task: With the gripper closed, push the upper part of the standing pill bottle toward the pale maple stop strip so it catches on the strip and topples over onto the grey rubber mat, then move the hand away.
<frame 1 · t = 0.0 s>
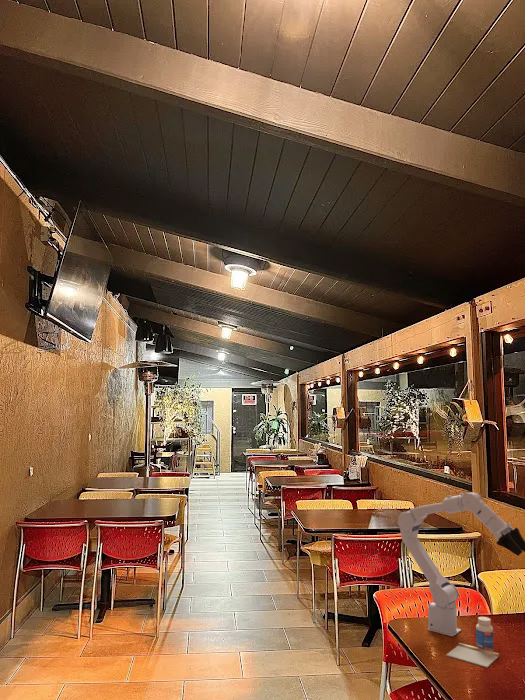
hand: (523, 551, 189), 32 cm above the table, tool tilted 50°, fingers open, 7 cm apart
pill bottle: (485, 649, 188), on the table
stop strip: (478, 651, 186), on the table
mat: (472, 656, 182), on the table
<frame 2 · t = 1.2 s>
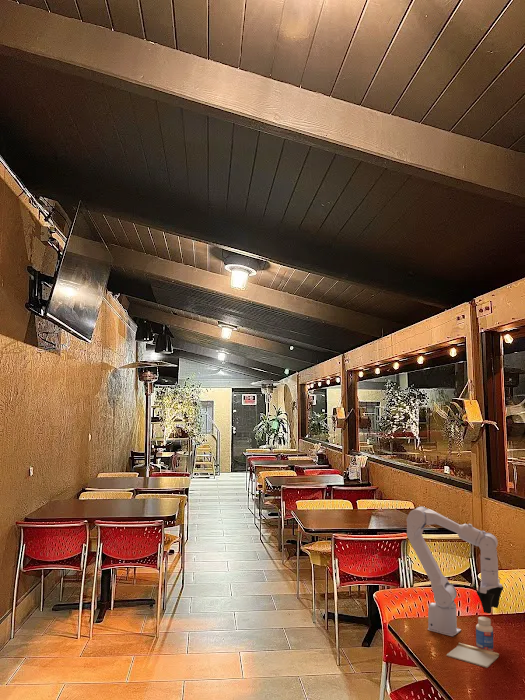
hand: (490, 610, 197), 10 cm above the table, tool pointing down, fingers open, 7 cm apart
nothing on the table moved.
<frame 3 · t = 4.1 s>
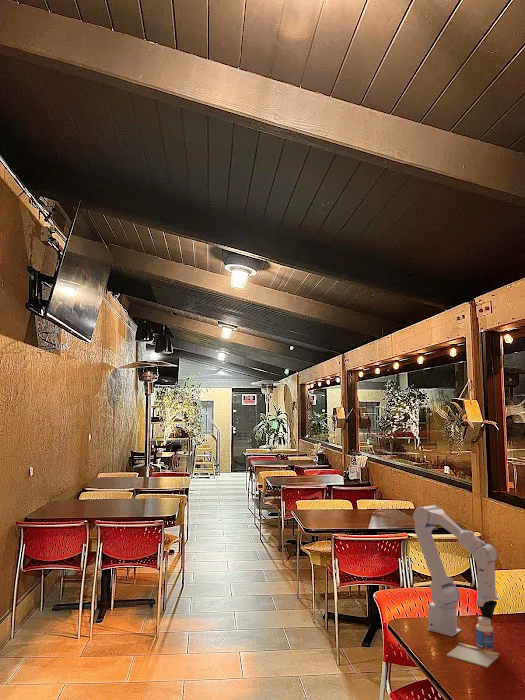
hand: (487, 623, 191), 7 cm above the table, tool pointing down, fingers closed, pressing on pill bottle
pill bottle: (485, 649, 188), on the table, touching gripper
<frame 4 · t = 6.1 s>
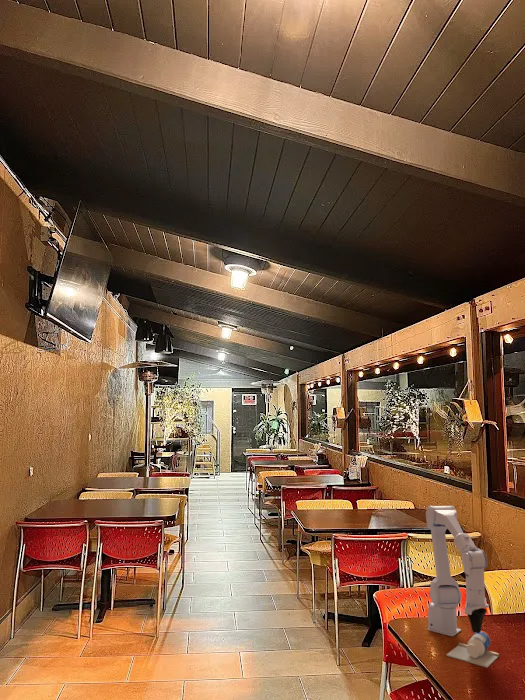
hand: (476, 631, 183), 7 cm above the table, tool pointing down, fingers closed
pill bottle: (483, 638, 187), point 4 cm above the table, touching mat, stop strip
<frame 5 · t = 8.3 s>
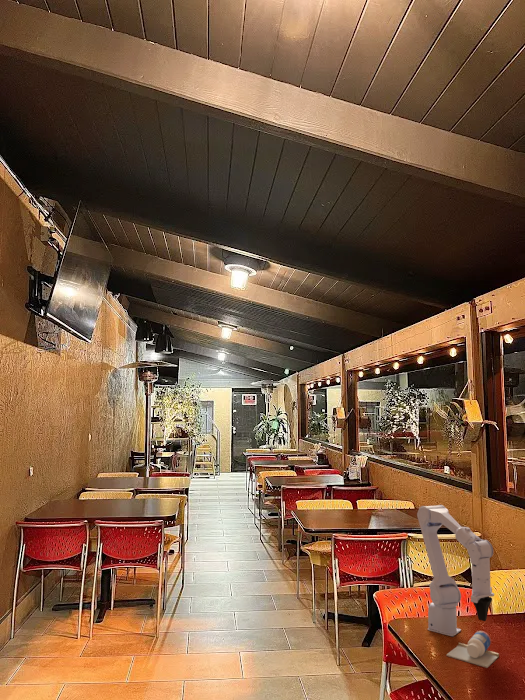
hand: (482, 620, 188), 10 cm above the table, tool pointing down, fingers closed
nothing on the table moved.
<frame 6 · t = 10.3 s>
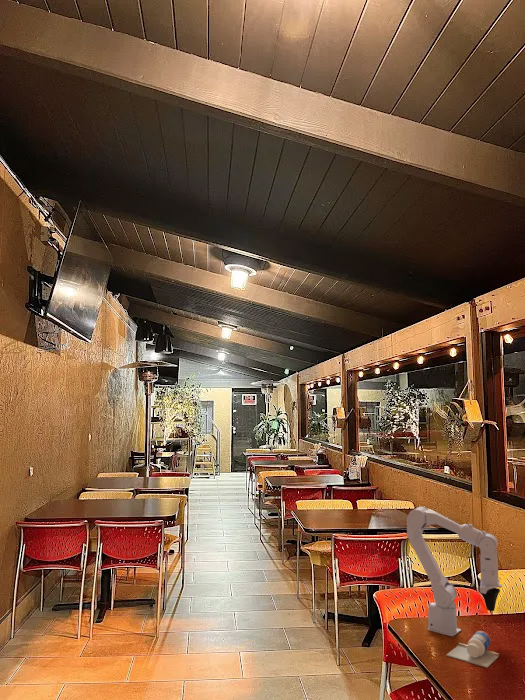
hand: (490, 610, 197), 10 cm above the table, tool pointing down, fingers closed
nothing on the table moved.
at the end: pill bottle tilted 98°; pill bottle inside the target area (8.7 cm from its centre), point 4.0 cm above the table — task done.
